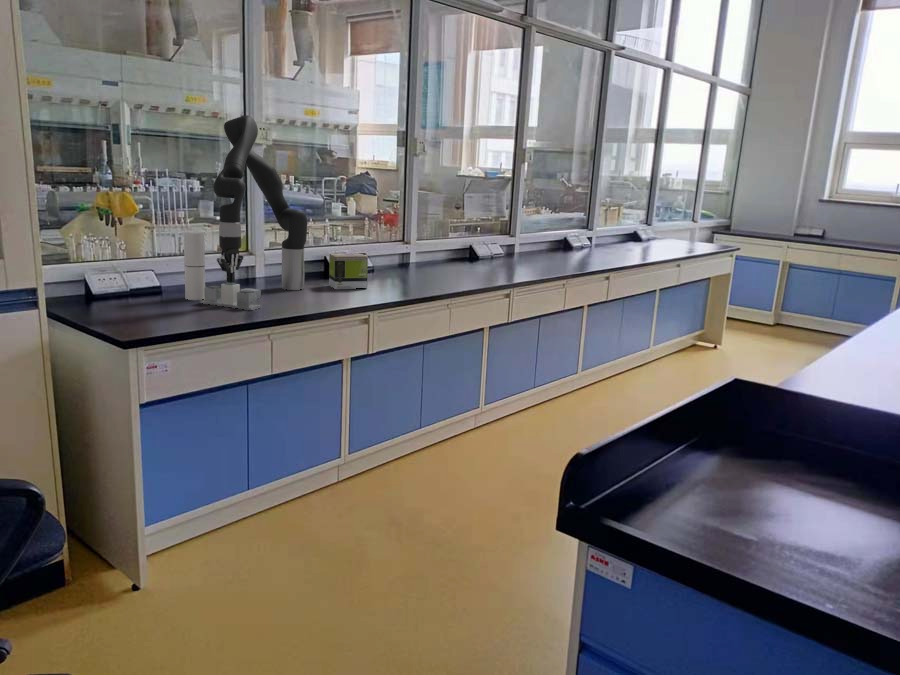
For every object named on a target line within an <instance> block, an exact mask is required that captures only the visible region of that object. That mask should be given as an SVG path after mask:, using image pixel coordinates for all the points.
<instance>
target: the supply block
mask: <svg viewBox="0 0 900 675" xmlns="http://www.w3.org/2000/svg"><path fill="white" fill-rule="evenodd" d="M243 290H249V291H255V292H257V300H258V298H259V299H261V297H262V296H261V295H262V294H261V293H262V289H256V288H250V287H245V288H240V291H243Z"/></svg>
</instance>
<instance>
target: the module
mask: <svg viewBox="0 0 900 675" xmlns="http://www.w3.org/2000/svg"><path fill="white" fill-rule="evenodd" d="M220 285H221V286H220V287H221V300H222V303H224V304H231V305H234V304H237V292H239V291H240V290H241V288H240V287H241V284H240V283H235V282H233V283H228V282H225V283H224V282H223V283H221V284H220Z"/></svg>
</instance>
